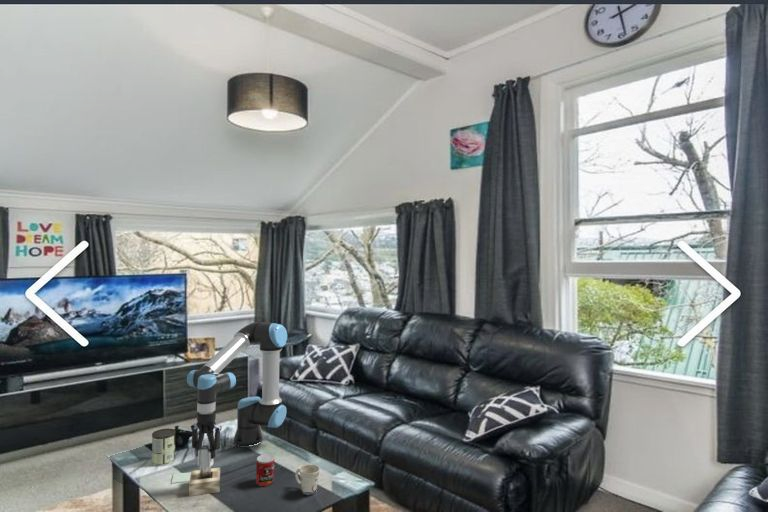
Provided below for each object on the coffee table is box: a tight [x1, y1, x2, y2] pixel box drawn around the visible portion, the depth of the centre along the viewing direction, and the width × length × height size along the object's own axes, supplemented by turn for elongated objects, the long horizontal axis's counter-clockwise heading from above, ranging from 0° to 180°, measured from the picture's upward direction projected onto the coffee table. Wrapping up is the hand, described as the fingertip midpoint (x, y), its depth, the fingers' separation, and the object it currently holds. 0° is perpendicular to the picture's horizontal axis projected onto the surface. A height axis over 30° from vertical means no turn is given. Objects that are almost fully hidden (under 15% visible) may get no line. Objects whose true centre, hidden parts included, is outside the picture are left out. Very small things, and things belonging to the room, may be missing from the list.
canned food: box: [255, 453, 275, 487], centre depth 208 cm, size 8×8×11 cm
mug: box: [294, 464, 320, 492], centre depth 201 cm, size 8×13×10 cm, turn 58°
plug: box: [199, 444, 212, 479], centre depth 202 cm, size 4×4×15 cm
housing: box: [188, 467, 221, 497], centre depth 202 cm, size 12×12×5 cm
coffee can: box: [151, 427, 176, 467], centre depth 225 cm, size 10×10×14 cm
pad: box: [171, 471, 191, 485], centre depth 210 cm, size 8×8×1 cm
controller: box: [173, 425, 192, 448], centre depth 243 cm, size 4×12×10 cm, turn 77°
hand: (205, 464), depth 202 cm, fingers closed on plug, 4 cm apart
